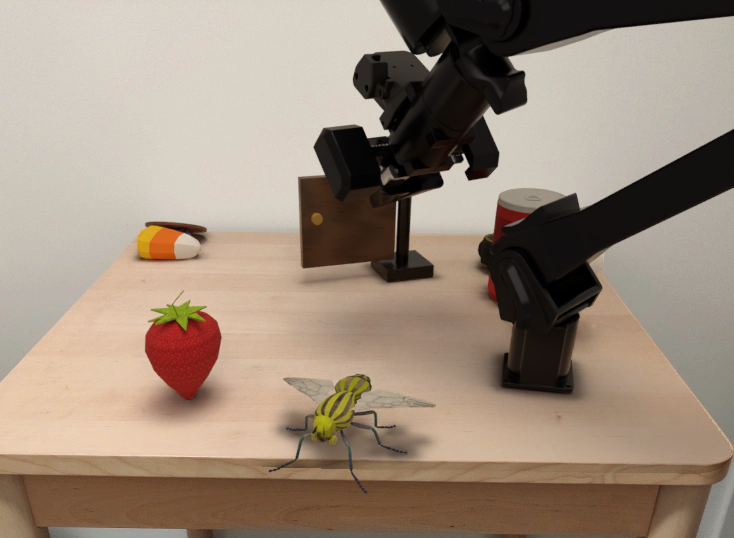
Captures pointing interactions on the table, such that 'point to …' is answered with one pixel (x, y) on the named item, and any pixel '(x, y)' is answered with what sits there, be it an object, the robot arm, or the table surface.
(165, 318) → the strawberry
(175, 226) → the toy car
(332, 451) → the table surface
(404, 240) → the door post
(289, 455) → the table surface
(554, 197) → the canned food
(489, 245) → the tape measure
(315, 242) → the door
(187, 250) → the candy corn
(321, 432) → the insect
